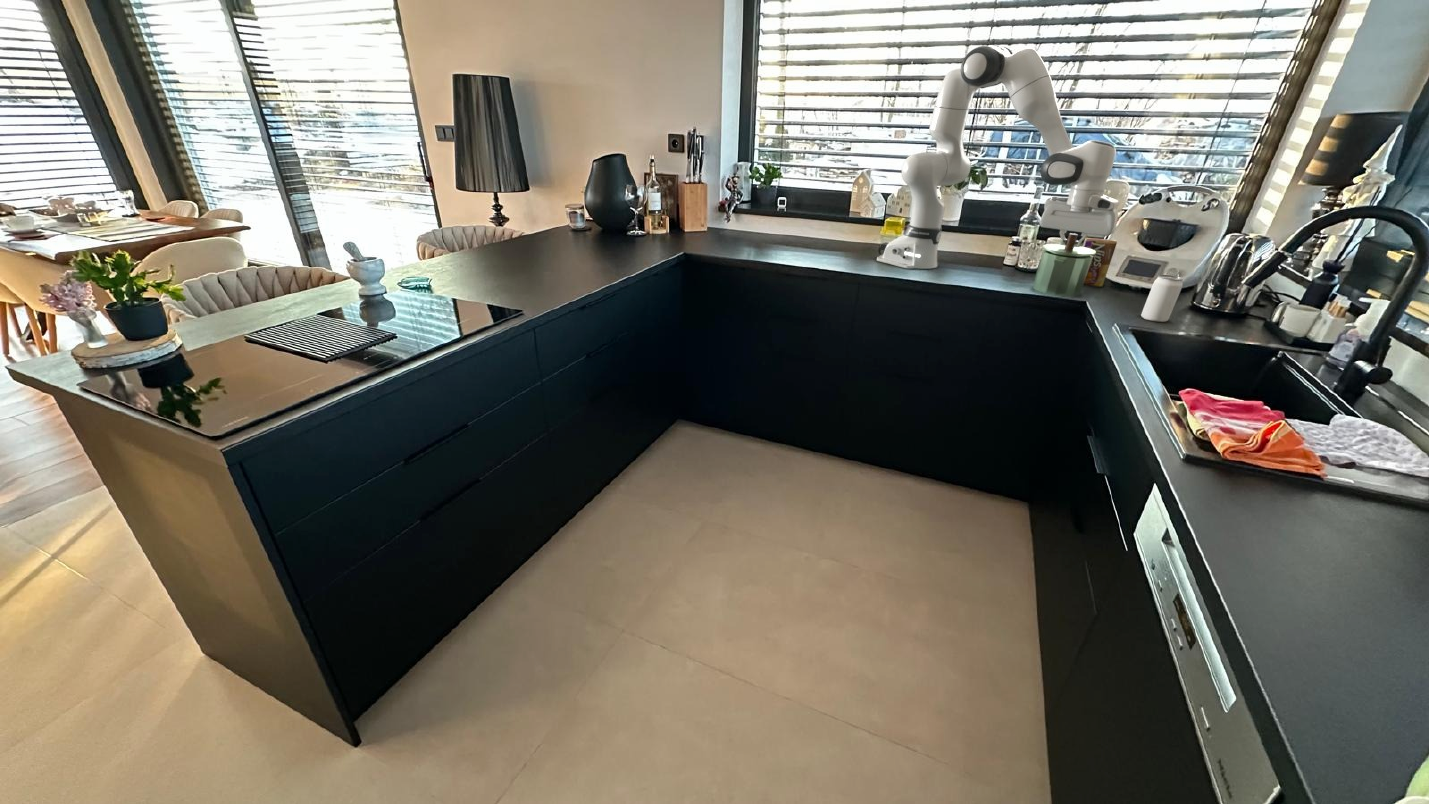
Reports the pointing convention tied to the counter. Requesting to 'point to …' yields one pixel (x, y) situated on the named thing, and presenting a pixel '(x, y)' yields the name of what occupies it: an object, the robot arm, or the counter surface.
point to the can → (1162, 298)
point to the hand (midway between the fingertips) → (1069, 245)
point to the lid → (1069, 248)
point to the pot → (1061, 274)
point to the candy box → (1099, 259)
